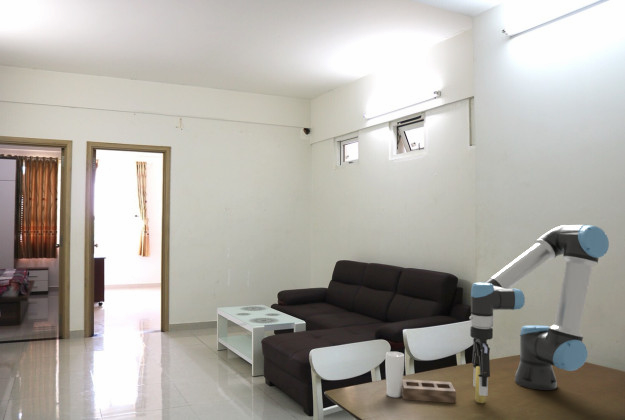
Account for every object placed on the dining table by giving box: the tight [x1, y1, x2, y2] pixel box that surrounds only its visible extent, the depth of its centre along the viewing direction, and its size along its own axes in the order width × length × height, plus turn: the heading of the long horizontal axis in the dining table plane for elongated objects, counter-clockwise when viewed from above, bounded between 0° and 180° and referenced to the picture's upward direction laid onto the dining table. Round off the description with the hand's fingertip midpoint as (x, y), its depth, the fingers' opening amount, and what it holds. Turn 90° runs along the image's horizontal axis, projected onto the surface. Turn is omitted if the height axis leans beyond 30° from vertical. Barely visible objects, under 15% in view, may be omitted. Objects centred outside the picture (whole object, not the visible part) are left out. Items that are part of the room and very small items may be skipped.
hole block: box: [401, 378, 457, 404], centre depth 177 cm, size 18×10×4 cm, turn 84°
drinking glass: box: [384, 351, 405, 398], centre depth 177 cm, size 7×7×15 cm
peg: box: [474, 366, 486, 404], centre depth 174 cm, size 3×3×12 cm
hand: (480, 390), depth 173 cm, fingers open, 8 cm apart
